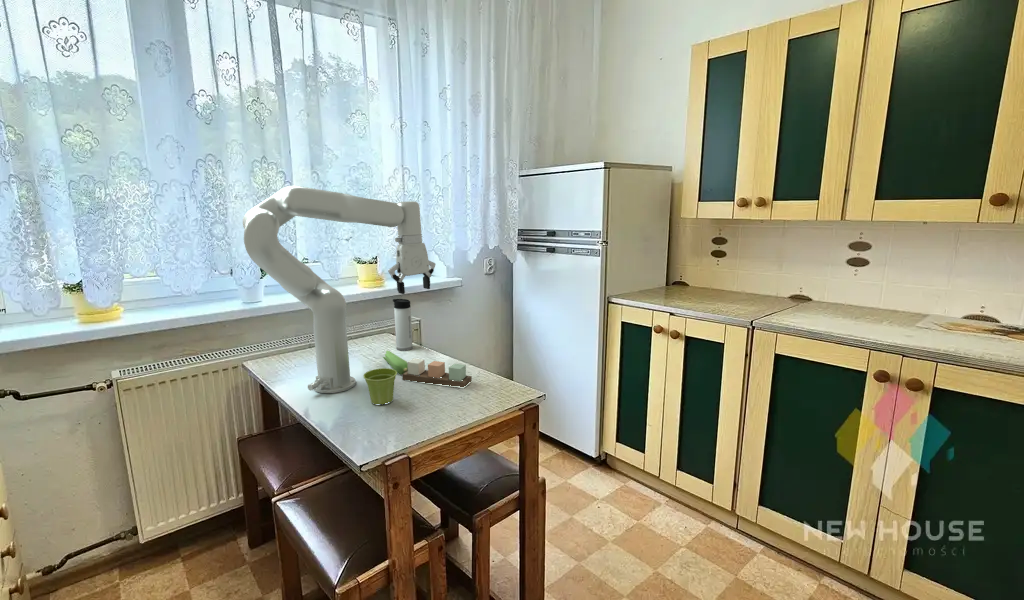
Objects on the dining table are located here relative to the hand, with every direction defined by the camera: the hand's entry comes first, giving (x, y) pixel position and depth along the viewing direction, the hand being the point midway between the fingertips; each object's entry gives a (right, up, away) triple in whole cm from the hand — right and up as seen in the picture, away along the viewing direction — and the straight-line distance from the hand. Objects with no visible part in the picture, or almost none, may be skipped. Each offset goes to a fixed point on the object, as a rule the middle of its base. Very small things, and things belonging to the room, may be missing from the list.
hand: (414, 290), depth 164 cm
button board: (+8, -29, -5) cm, 31 cm away
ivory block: (+1, -27, -3) cm, 27 cm away
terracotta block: (+8, -27, -6) cm, 29 cm away
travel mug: (-10, -22, +28) cm, 37 cm away
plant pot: (-5, -33, -20) cm, 39 cm away
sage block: (+15, -28, -8) cm, 33 cm away
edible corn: (-8, -27, +8) cm, 29 cm away
